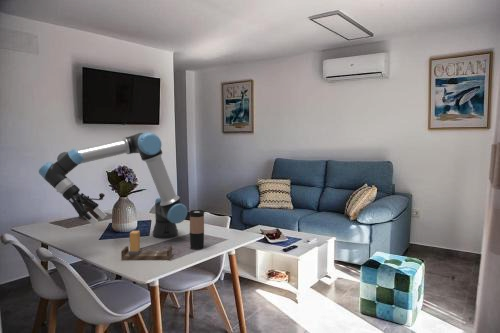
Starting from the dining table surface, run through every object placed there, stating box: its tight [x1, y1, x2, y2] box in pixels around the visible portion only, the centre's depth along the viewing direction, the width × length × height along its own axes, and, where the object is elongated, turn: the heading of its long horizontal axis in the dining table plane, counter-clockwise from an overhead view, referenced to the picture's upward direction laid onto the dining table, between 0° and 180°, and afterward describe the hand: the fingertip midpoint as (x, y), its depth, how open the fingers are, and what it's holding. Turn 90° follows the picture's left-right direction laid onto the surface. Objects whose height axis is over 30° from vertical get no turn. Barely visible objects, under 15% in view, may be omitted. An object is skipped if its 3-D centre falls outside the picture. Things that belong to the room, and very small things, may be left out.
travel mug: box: [189, 209, 205, 251], centre depth 196 cm, size 8×8×20 cm
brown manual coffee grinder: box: [78, 192, 105, 221], centre depth 267 cm, size 16×11×18 cm
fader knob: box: [129, 230, 142, 255], centre depth 179 cm, size 4×6×10 cm
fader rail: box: [120, 245, 173, 261], centre depth 180 cm, size 23×8×4 cm, turn 93°
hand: (100, 220), depth 177 cm, fingers open, 13 cm apart
